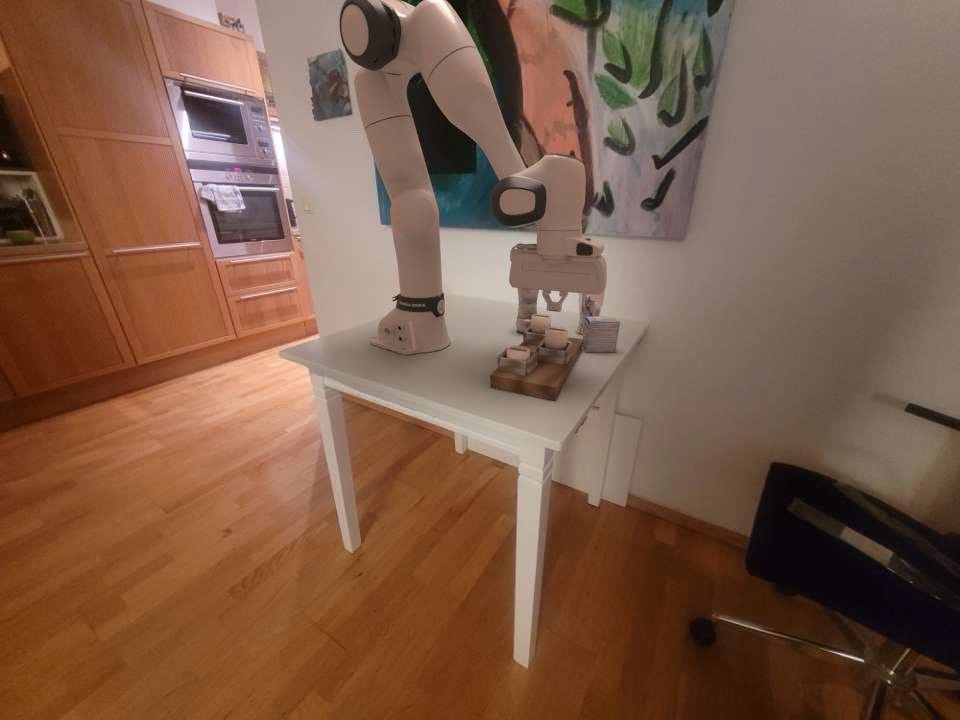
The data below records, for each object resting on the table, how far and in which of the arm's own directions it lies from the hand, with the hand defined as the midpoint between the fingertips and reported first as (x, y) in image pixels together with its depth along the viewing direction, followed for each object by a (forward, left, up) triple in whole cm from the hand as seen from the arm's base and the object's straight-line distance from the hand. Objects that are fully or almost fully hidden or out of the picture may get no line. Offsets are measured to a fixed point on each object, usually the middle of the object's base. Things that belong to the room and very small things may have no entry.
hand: (554, 310), depth 80 cm
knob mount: (-2, +2, -15) cm, 15 cm away
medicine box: (+9, +19, -15) cm, 25 cm away
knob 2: (-5, +11, -9) cm, 15 cm away
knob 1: (-5, -7, -12) cm, 15 cm away
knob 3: (+1, +2, -9) cm, 9 cm away
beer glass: (+4, +32, -15) cm, 35 cm away
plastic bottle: (-13, +25, -15) cm, 32 cm away
